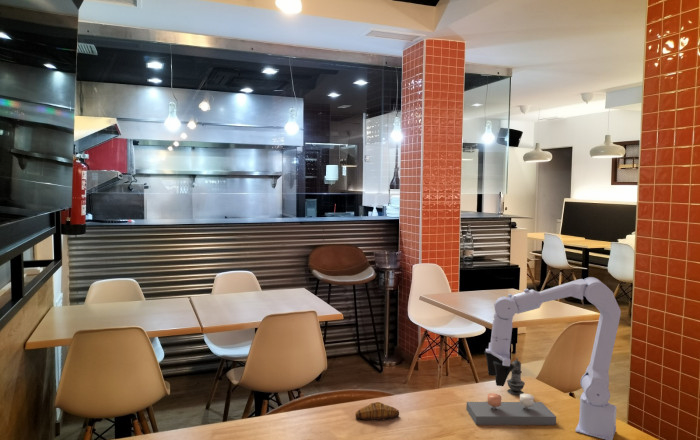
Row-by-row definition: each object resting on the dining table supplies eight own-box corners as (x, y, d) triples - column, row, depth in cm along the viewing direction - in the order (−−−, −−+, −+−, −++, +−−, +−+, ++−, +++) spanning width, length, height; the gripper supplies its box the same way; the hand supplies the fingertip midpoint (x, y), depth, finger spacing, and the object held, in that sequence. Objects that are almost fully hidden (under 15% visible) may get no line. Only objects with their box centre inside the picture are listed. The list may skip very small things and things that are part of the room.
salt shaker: (521, 389, 170) (523, 355, 169) (526, 396, 164) (527, 361, 163) (504, 388, 171) (506, 354, 170) (508, 395, 165) (510, 360, 164)
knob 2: (529, 408, 151) (530, 393, 151) (535, 414, 147) (536, 399, 147) (517, 408, 151) (517, 393, 150) (522, 414, 147) (523, 399, 146)
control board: (541, 409, 154) (541, 402, 154) (555, 424, 144) (556, 416, 144) (466, 409, 153) (466, 401, 153) (475, 424, 143) (476, 416, 143)
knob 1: (498, 408, 150) (498, 393, 150) (502, 414, 146) (503, 398, 146) (485, 408, 150) (485, 393, 150) (489, 414, 146) (490, 398, 146)
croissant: (357, 424, 142) (357, 408, 141) (353, 414, 148) (353, 398, 148) (402, 422, 144) (402, 405, 144) (396, 412, 151) (396, 396, 150)
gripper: (481, 328, 154) (476, 369, 155) (495, 343, 140) (490, 389, 141) (503, 330, 154) (498, 371, 155) (519, 345, 140) (514, 391, 141)
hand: (495, 380), depth 148 cm, fingers open, 7 cm apart
